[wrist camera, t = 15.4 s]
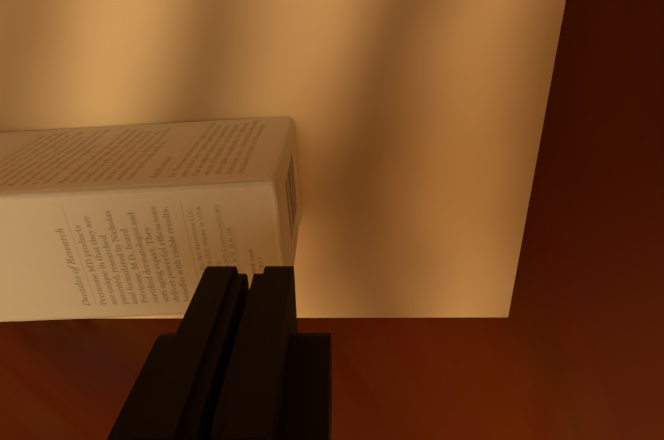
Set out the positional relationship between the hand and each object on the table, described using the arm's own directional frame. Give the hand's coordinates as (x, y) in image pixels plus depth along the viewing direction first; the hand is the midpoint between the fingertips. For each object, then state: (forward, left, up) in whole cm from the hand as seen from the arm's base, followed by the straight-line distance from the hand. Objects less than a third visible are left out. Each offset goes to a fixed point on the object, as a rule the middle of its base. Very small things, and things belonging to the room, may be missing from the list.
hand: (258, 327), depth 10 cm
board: (+3, 0, -11) cm, 11 cm away
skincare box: (0, 0, -6) cm, 6 cm away
